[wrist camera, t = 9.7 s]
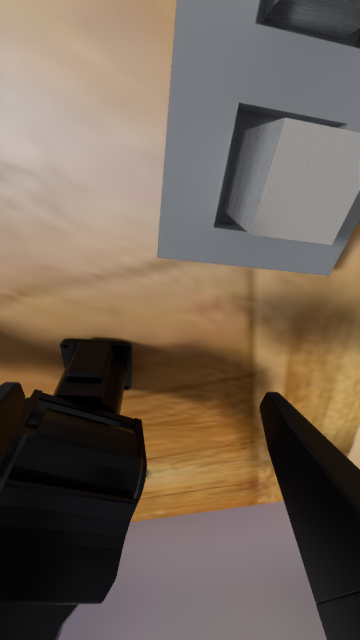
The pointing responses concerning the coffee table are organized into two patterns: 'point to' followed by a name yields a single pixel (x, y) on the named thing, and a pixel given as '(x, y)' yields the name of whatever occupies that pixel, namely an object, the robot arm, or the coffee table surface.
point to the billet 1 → (316, 16)
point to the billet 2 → (294, 180)
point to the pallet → (245, 125)
